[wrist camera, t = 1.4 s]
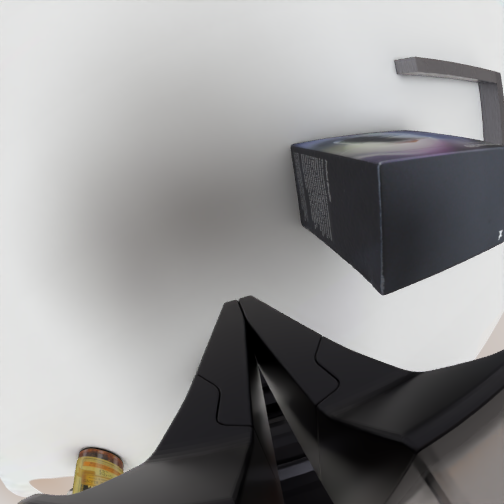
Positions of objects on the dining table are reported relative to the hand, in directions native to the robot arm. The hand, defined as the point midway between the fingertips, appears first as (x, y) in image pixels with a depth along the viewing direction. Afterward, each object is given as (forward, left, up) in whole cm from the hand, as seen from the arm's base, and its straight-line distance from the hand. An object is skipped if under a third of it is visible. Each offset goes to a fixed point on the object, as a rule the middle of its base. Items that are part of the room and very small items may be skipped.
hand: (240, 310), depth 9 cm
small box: (0, -12, -12) cm, 17 cm away
